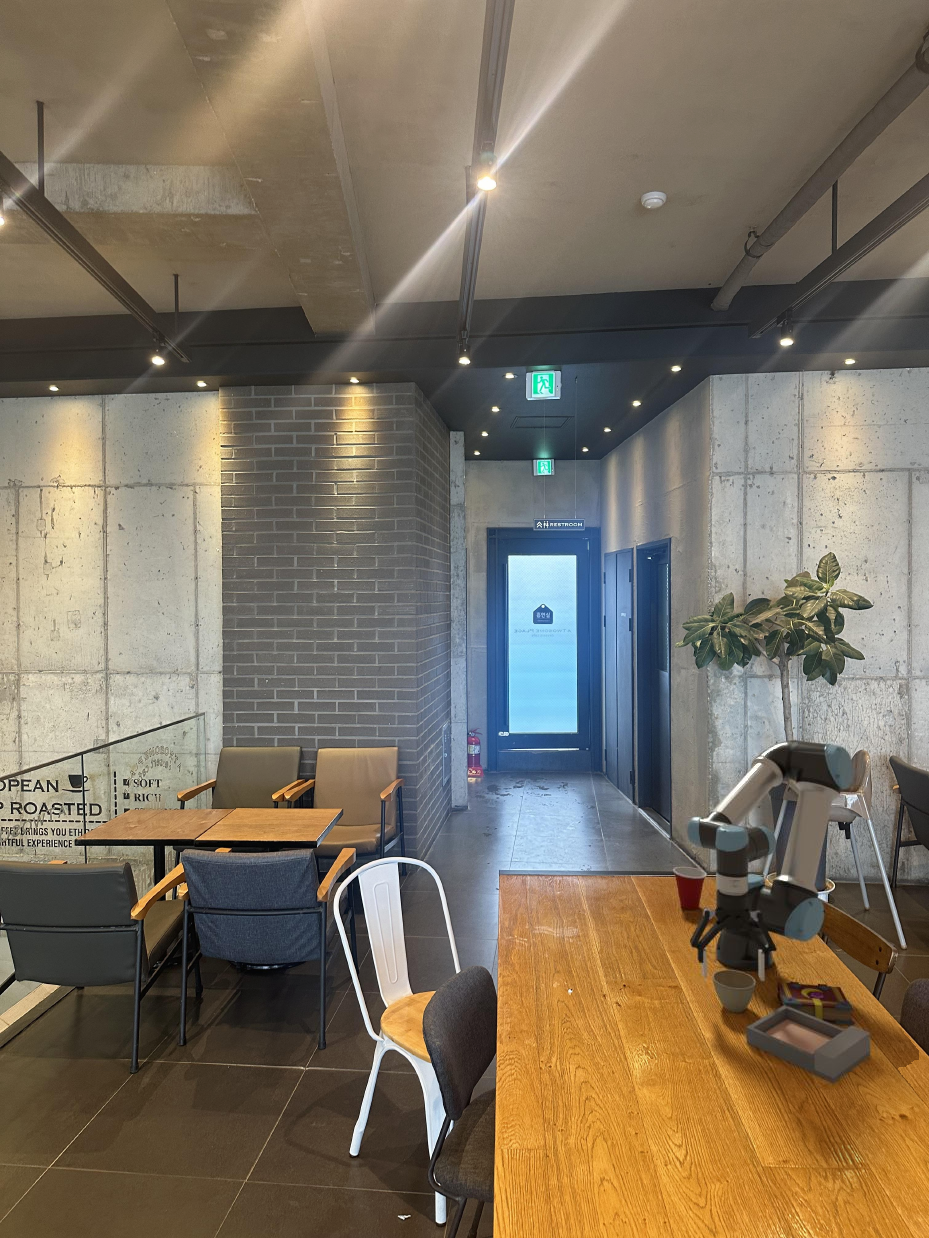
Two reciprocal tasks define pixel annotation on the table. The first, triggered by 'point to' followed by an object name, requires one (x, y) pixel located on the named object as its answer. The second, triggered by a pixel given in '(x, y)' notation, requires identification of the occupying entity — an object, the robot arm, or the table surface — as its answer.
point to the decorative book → (817, 1001)
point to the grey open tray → (810, 1042)
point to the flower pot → (734, 989)
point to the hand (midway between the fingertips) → (732, 977)
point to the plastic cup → (689, 886)
